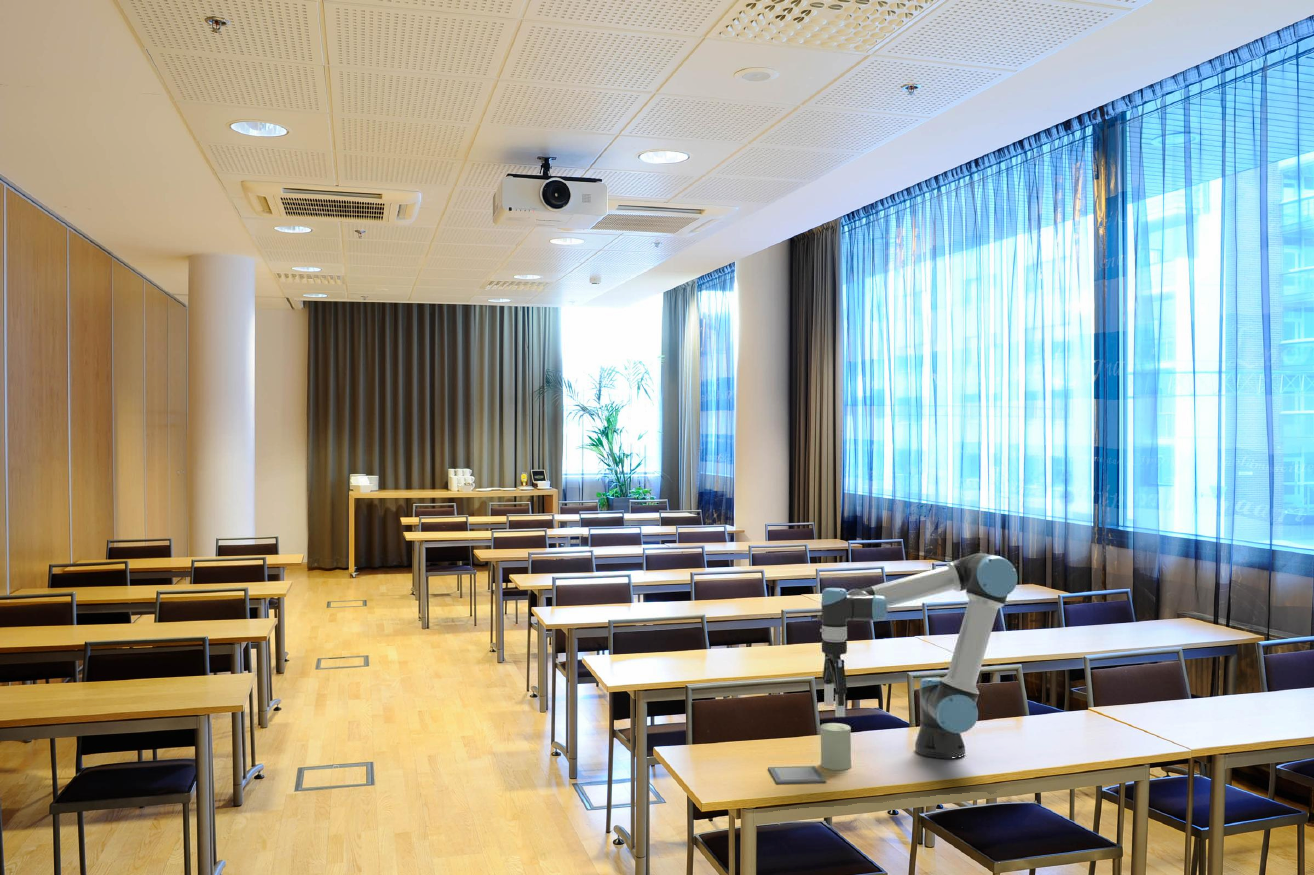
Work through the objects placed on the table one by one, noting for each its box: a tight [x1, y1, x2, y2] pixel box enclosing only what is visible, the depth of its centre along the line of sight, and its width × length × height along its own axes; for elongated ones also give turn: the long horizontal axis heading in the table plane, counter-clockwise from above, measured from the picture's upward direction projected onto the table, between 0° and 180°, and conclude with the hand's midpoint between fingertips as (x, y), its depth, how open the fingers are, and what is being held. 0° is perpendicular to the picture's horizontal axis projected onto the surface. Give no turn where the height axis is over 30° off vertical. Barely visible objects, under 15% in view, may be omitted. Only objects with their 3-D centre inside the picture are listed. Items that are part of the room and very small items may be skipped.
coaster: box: [767, 765, 827, 785], centre depth 273 cm, size 14×14×1 cm
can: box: [819, 722, 852, 771], centre depth 283 cm, size 9×9×12 cm
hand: (834, 710), depth 284 cm, fingers open, 13 cm apart
